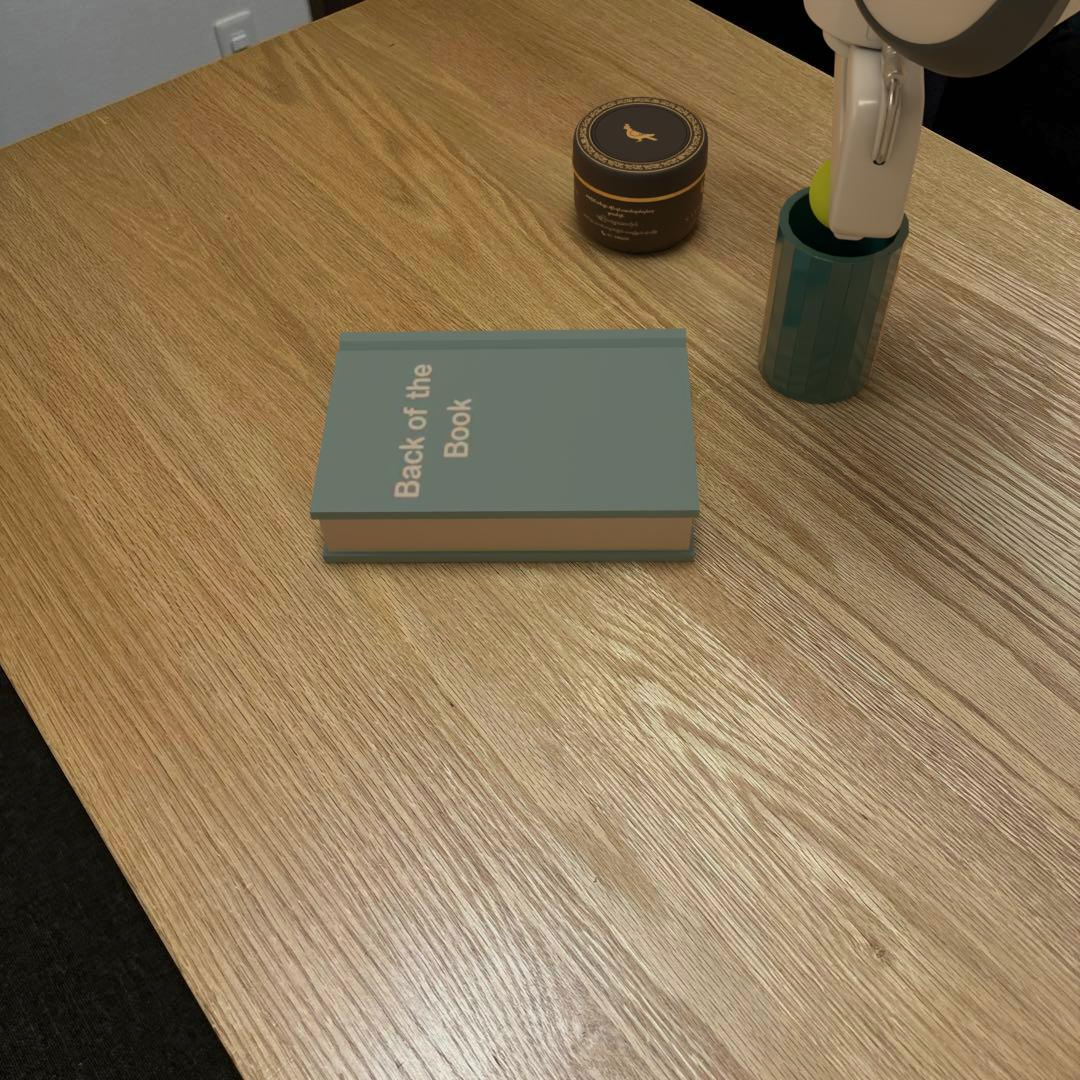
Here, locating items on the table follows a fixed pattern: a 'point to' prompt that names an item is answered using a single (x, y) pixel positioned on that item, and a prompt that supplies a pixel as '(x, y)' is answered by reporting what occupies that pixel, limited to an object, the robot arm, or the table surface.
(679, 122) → the jar
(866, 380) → the tube
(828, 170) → the ball
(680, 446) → the book
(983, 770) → the table surface
